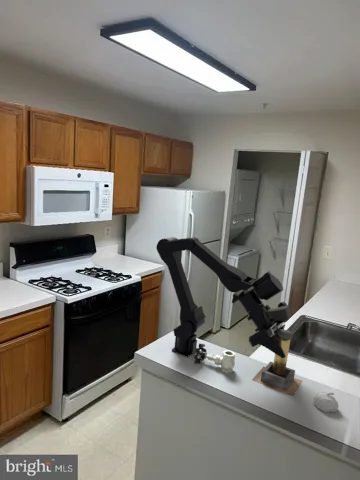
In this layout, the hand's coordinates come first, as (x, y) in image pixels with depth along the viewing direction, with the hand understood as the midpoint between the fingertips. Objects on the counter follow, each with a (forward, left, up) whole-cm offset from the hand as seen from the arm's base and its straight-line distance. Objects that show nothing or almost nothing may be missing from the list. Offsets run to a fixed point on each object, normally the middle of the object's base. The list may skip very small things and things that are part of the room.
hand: (286, 355), depth 100 cm
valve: (-19, -5, -10) cm, 22 cm away
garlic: (+13, -4, -10) cm, 16 cm away
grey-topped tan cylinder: (-1, 0, -6) cm, 6 cm away
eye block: (-1, 0, -9) cm, 10 cm away
